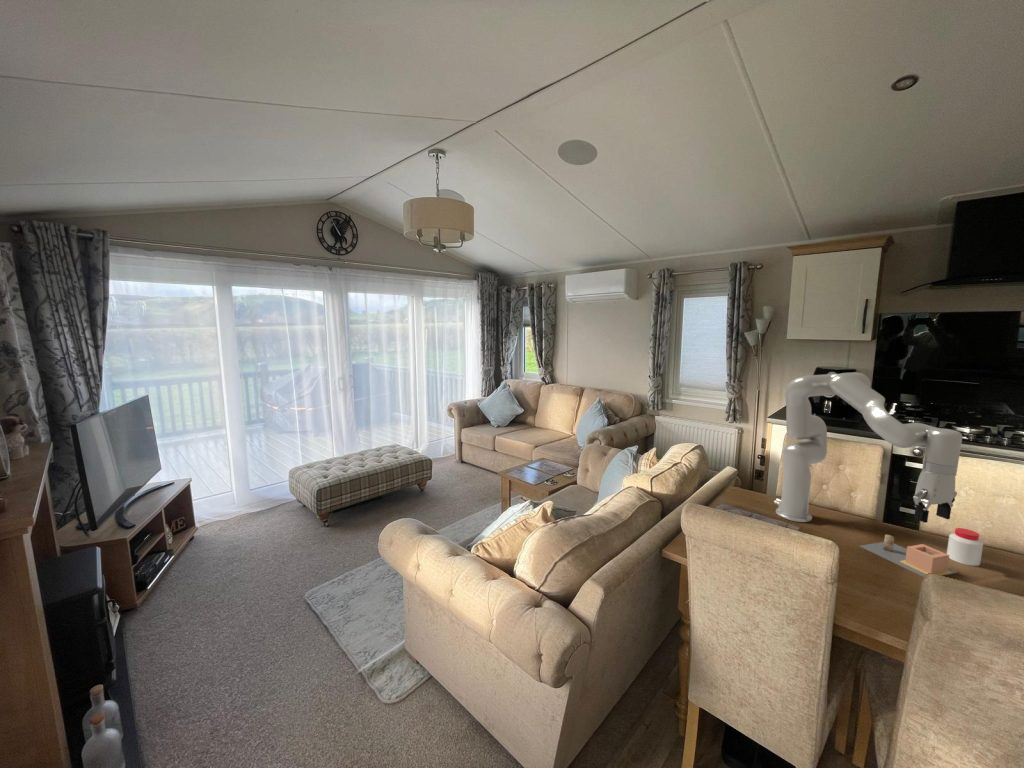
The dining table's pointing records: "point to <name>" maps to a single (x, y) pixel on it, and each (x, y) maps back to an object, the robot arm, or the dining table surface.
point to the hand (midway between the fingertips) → (931, 519)
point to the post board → (898, 555)
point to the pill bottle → (965, 547)
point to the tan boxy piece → (927, 559)
